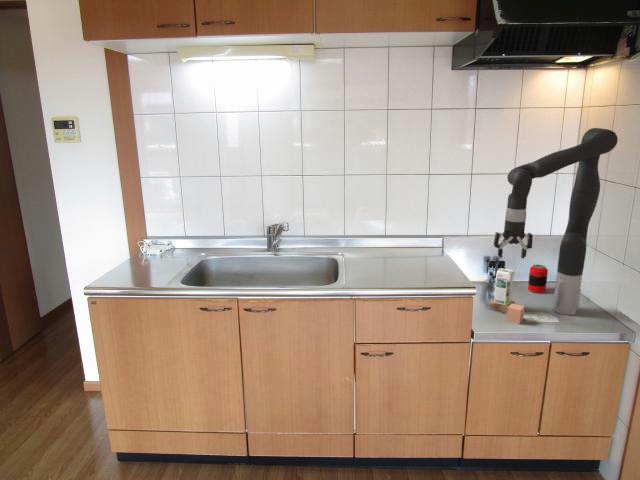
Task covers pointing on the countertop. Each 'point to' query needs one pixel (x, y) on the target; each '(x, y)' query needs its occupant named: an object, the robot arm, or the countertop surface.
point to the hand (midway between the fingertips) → (511, 257)
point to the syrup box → (503, 286)
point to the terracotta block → (515, 313)
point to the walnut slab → (499, 307)
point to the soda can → (537, 279)
